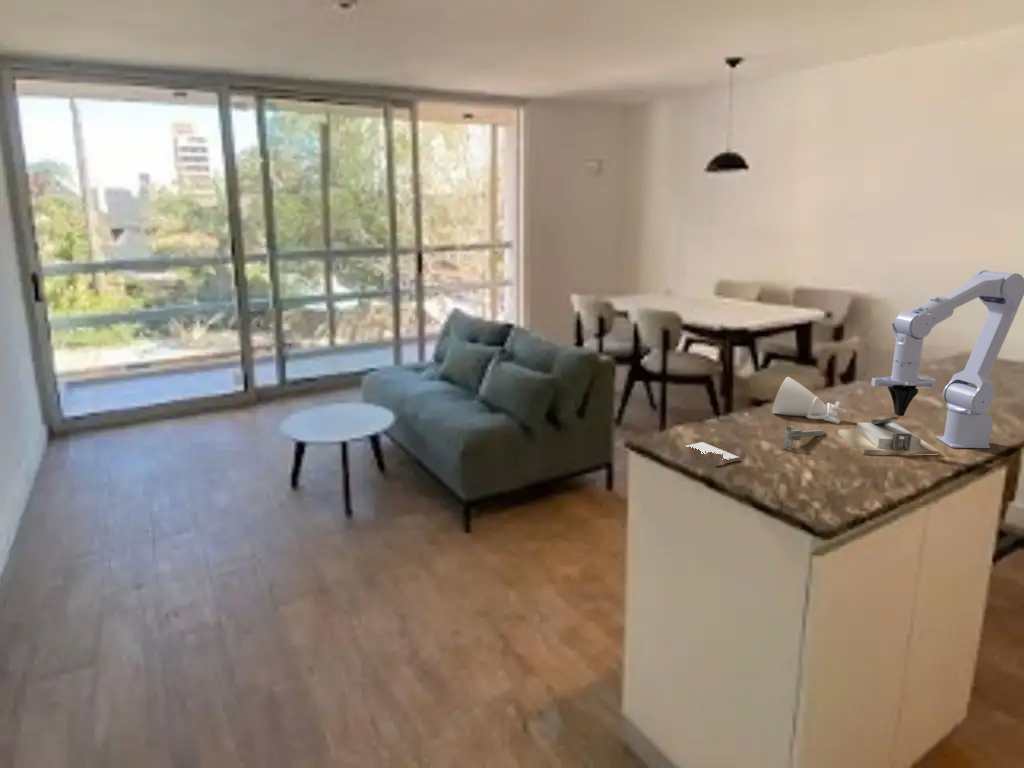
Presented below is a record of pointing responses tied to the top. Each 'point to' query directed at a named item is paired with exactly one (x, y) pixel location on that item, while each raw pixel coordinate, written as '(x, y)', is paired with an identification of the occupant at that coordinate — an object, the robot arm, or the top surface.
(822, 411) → the rocket engine
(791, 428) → the caliper
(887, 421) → the grey flat bar
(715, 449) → the external hard drive
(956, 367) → the top surface
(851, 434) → the base board
